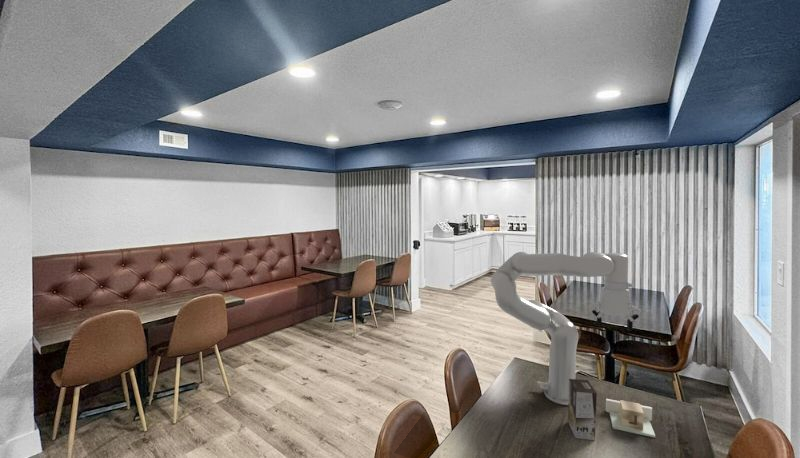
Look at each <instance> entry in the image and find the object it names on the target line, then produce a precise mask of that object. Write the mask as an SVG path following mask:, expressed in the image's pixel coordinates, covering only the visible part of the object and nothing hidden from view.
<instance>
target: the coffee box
mask: <svg viewBox="0 0 800 458" xmlns="http://www.w3.org/2000/svg"><path fill="white" fill-rule="evenodd" d="M597 394H598V393H597V391H596V390H595V389H594V387H593V386H592V384H591V383H590V382H589V380H588V379H583V378H582V379H580V378H575V379H569V400H568V405H567V406H568V408H567V409H568V411H567V412H568V414H567V415H568V417H567V423H568V425H569V426H570V429H571V432H572V433H573V437H574V438H576V439H580V440H581V439H582V440H589V441H595V440H596V419H597V415H596V414H597V396H598V395H597Z"/></svg>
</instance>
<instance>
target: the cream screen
mask: <svg viewBox="0 0 800 458" xmlns="http://www.w3.org/2000/svg"><path fill="white" fill-rule="evenodd" d="M641 407H642V410H643V413H644V419H648V420H649V421H650V422H652V421H653V407H652V406H648V405H642V404H641ZM605 412H606V413H609V414H610V412H613V413H618V414H620V400H615V399H610V398H605Z"/></svg>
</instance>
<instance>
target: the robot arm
mask: <svg viewBox="0 0 800 458" xmlns="http://www.w3.org/2000/svg"><path fill="white" fill-rule="evenodd" d="M628 272H629V256H628V254H627V255H626V254H624V253H620V252H610V253H604V252H603V253H602V252H596V251H590V252H587V253H585V254H583V255H582V256H577V255H576V256H575V255H569V254H565V253H558V252H554V253H553V252H551V253H527V252H524V251H518V252H515V253H514V254H513V255H511V256H510V257H509V258H508V259H507V260H506V261H505V262H504V263H502V265H500V267H498V268H497V269H496V270H495V271H494V272H493V274H492V275H491V277H490V284H491V286H492V288H493V290H494V293H495V301H496V303H497V306H498V307H499V308H500V309H501V310H502V312H504V313H506V314H508V315H509V316H511V317H513V318H515V319H516V320H518V321H519V322H522V323H523V324H525V325H527V326H529V327H530V328H532V329H535V330H537V331H546V332H547V333H548V334H549V336H550V338H551V339H550V340H551V341H550V344H549V351H548V352H549V355H548V356H549V357H548V359H549V361H548V362H549V363H548V380H547V381H545V382H543V381H539V380H538V381H536V387H539V390H544V396H545V397H546V398H547V400H549V401H552V402H553V403H555V404H558V405H561V406H562V405H563V406H568V400H569V379H576V371H577V370H576V362H577V360H576V359H577V358H576V357H577V347H578V341H579V332H578V328H577V327H576V325H574V323H573V322H572V321H570V319H568V318H567V317H566V316H565V315H563V314H562V313H561V312H559V311H557V310H555V309H553V308H551V307H549V306H548V305H545V304H544V303H542V302H540V301H538V300H532V299H531V300H528V299H526V298H525V297H522V296H520V295H519V294H518V293H517V283H516V281H517V279H519V278H520V277H521V276H523V277H525V276H526V277H533V276H534V277H537V276H539V277H540V276H562V277H564V276H565V277H579V278H580V277H583V278H588V277H589V278H592V277H593V278H595V277H604V282H603V283H604V284H603V285H604V286H602V287H601V288H600V297H599V301H597V302H593V303H591V304H589V309H590V311H591V312H592V314H593V315H594V316H595V317H596V326H598V328H599V329H602V323H603V322H602V321H603V320H602V316H604V315H609V316H610V315H611V316H618V317H620V316H621V317H627V319H626V320H627V322H626V331H628V332H629V333H631V330H633V326H634V325H633V324H634V323H633V322H634V321H636V320H637V319H639V317H640V316H641V314H642V312H643V311H642V310H641V309H640V308H638V307H637V306H634V305H632V304H631V303H632V302H631V294H630V293H631V292H630V289H629V288H632V287H633V286H632V285H633V284H632V283H629V282H628V277H629V273H628ZM597 307H599V311H597V310H596V309H595V308H597ZM632 311H634V312H635V313H634V314H632V315H631V312H632Z"/></svg>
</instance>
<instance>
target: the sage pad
mask: <svg viewBox="0 0 800 458" xmlns="http://www.w3.org/2000/svg"><path fill="white" fill-rule="evenodd" d="M609 417H610V423H611V426H612V427H611V428H612V429H614V430H619V431H624V432H627V433H632V434H637V435H642V436H646V437H650V438H656V434H655V431H654V429H653V426H652V424H651V421H649V420H648V419H643V430H640V429H635V428H630V427H626V426H622V423H621V419H620V414H618V413H613V412H610V413H609Z"/></svg>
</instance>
